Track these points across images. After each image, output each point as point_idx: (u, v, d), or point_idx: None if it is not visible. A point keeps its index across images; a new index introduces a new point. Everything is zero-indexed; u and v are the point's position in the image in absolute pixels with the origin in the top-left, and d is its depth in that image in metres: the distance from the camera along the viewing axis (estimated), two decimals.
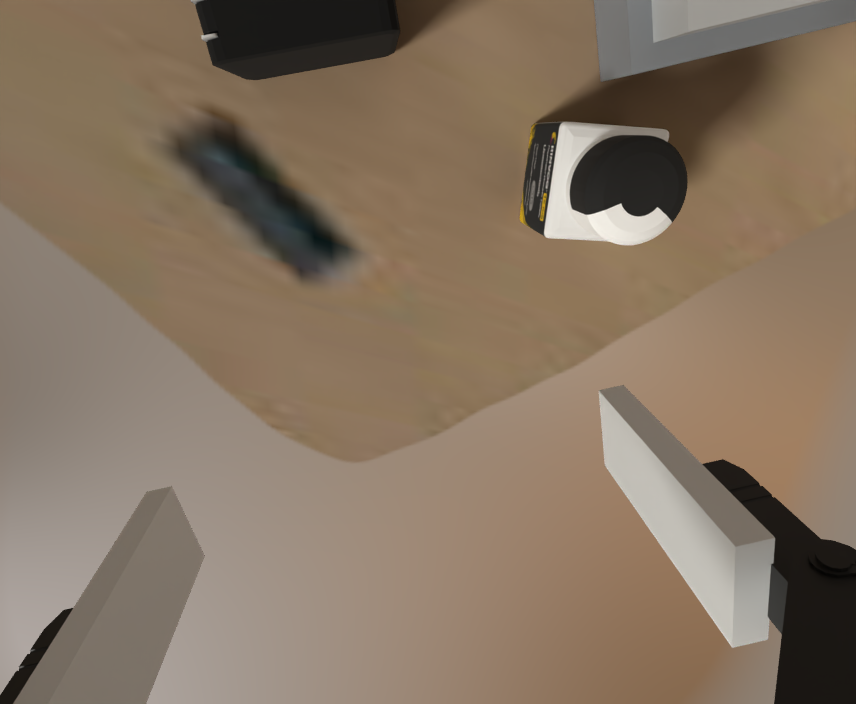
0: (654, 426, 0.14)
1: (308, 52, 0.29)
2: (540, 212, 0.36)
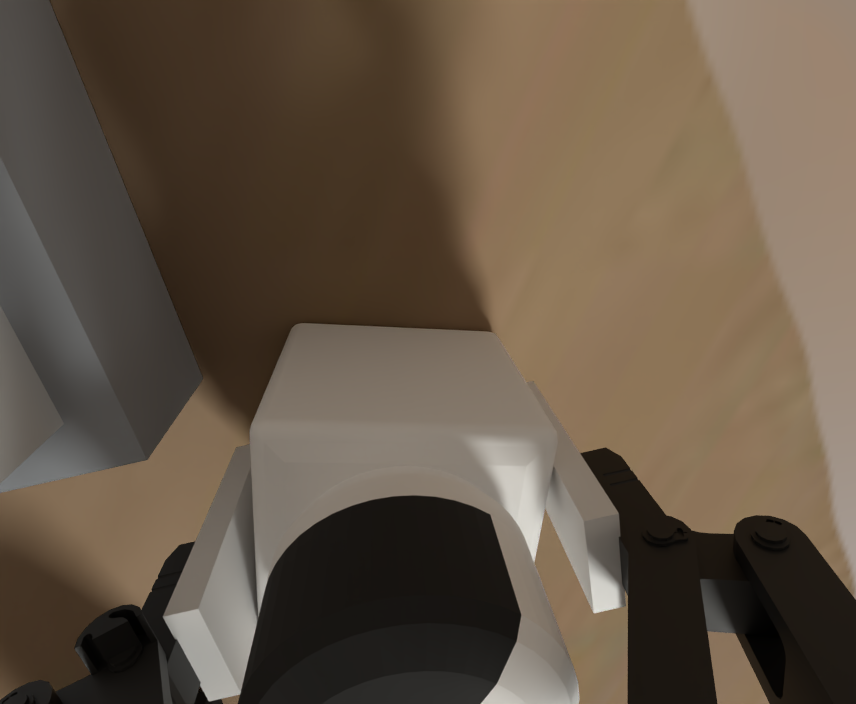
0: None
1: None
2: None
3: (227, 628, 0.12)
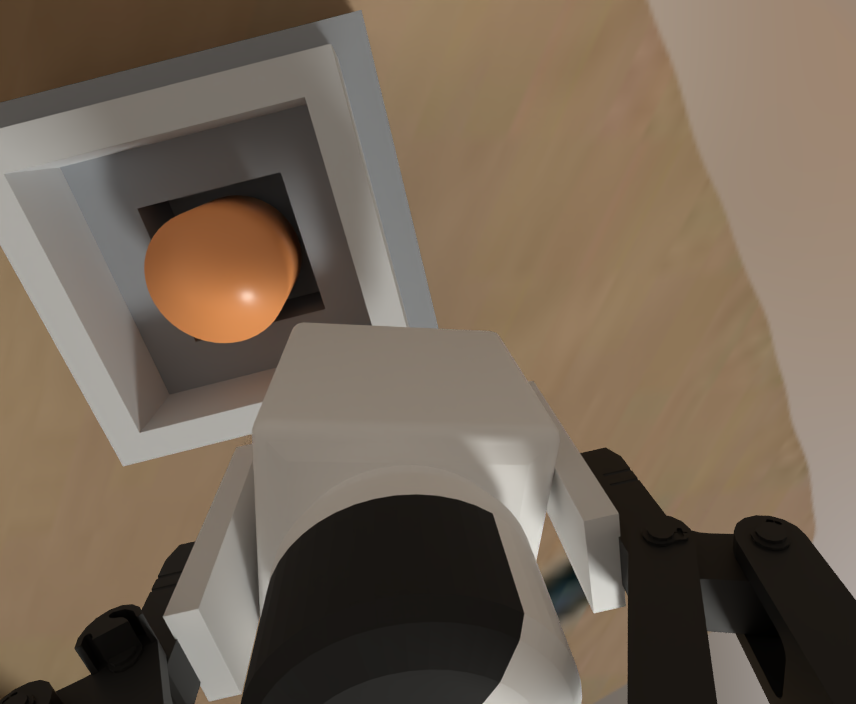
0: None
1: None
2: None
3: (227, 628, 0.12)
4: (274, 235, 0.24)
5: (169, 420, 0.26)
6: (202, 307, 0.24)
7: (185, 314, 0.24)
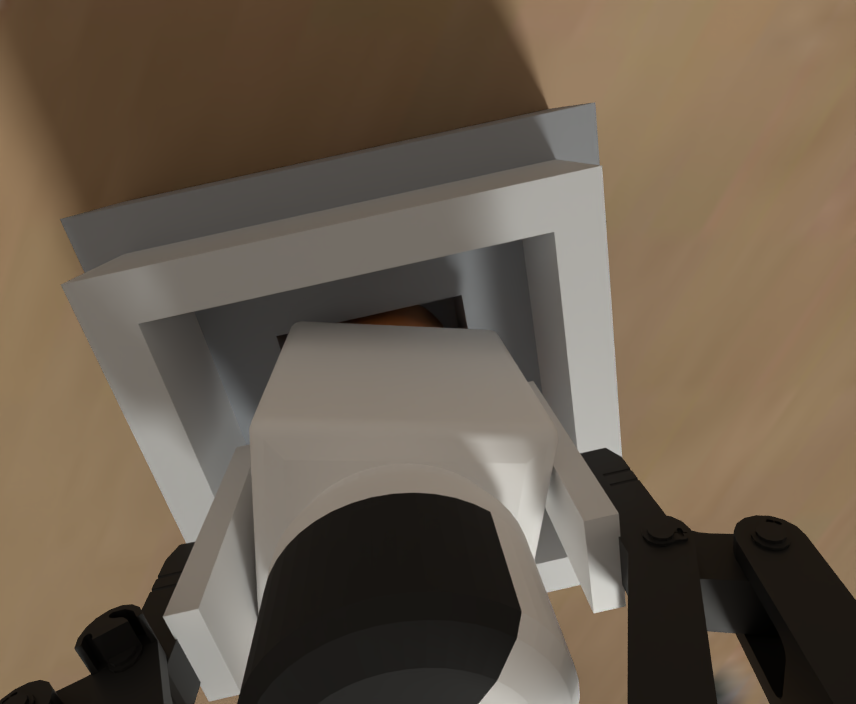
0: None
1: None
2: None
3: (227, 628, 0.12)
4: None
5: None
6: None
7: None
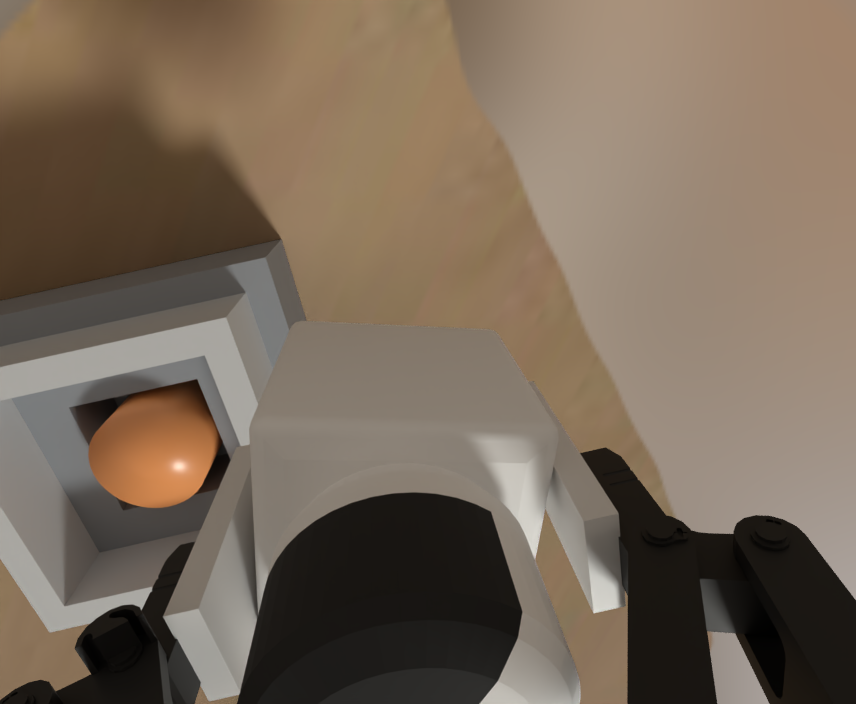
0: None
1: None
2: None
3: (227, 628, 0.12)
4: (198, 424, 0.29)
5: (92, 593, 0.29)
6: (136, 482, 0.29)
7: (122, 487, 0.29)
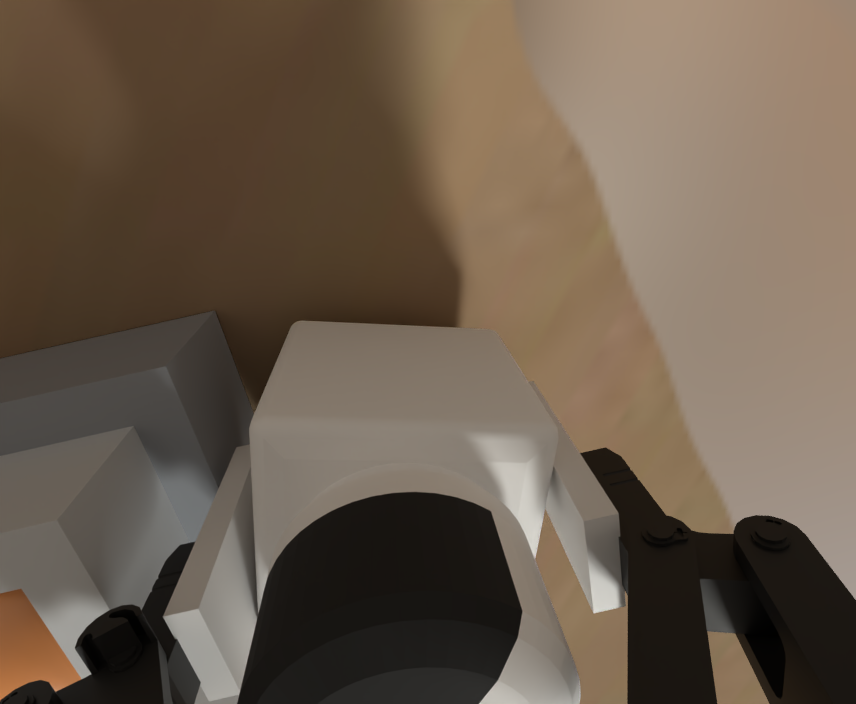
0: None
1: None
2: None
3: (227, 628, 0.12)
4: None
5: None
6: None
7: None
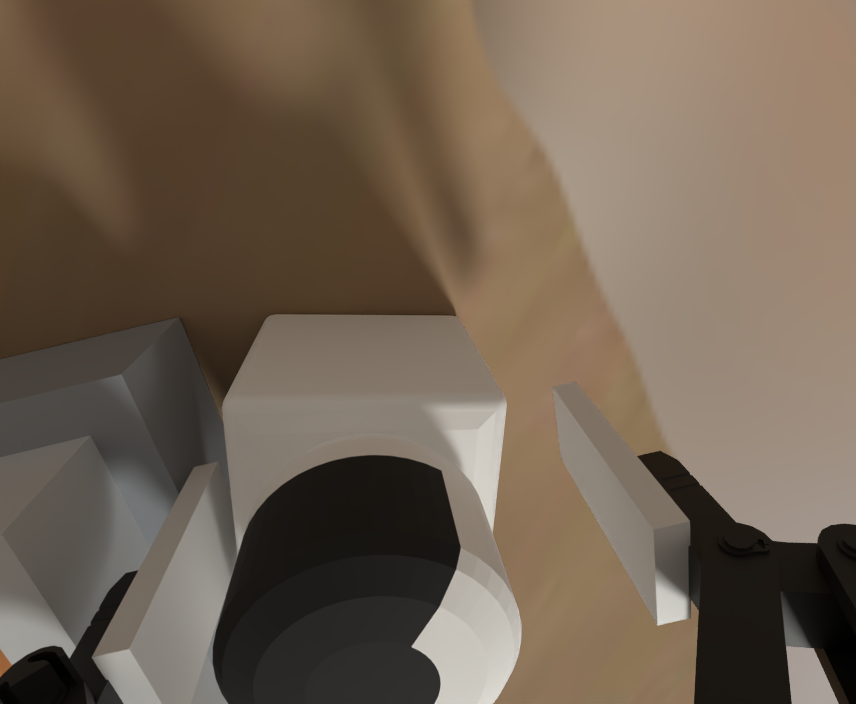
0: (598, 420, 0.14)
1: None
2: None
3: (166, 665, 0.12)
4: None
5: None
6: None
7: None
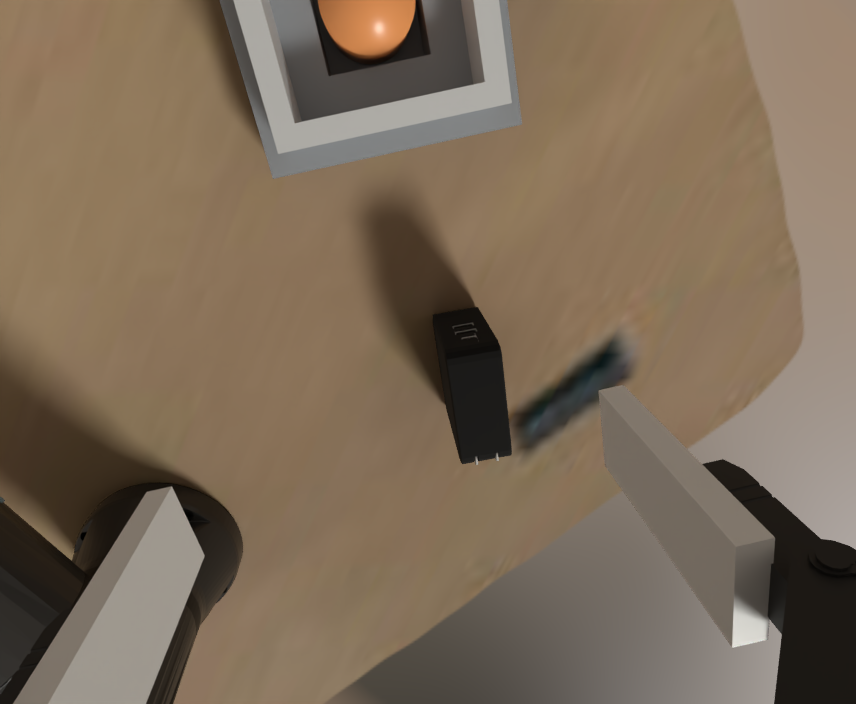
0: (654, 426, 0.14)
1: None
2: None
3: None
4: None
5: None
6: (354, 23, 0.34)
7: (341, 27, 0.34)
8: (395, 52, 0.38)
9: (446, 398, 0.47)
